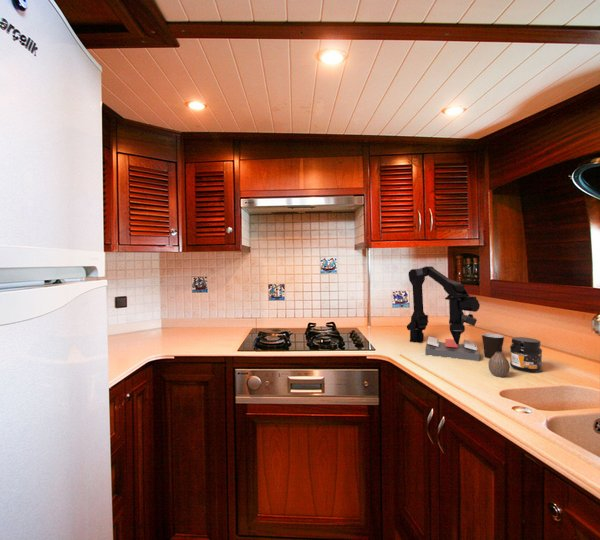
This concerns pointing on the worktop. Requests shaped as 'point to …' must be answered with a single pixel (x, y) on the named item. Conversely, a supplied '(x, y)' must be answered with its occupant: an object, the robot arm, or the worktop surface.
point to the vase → (499, 365)
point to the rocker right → (470, 345)
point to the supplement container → (526, 354)
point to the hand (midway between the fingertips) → (457, 342)
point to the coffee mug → (492, 344)
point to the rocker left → (433, 341)
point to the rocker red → (450, 343)
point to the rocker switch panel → (452, 351)
